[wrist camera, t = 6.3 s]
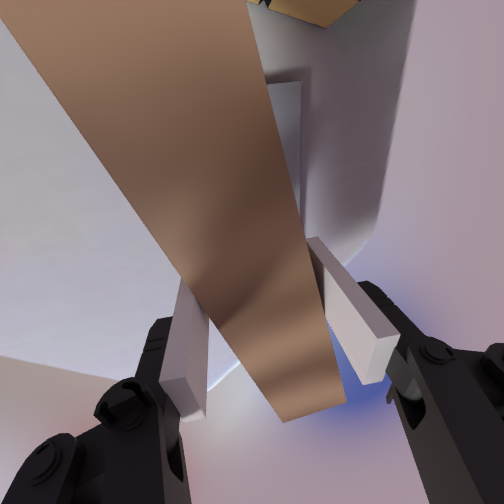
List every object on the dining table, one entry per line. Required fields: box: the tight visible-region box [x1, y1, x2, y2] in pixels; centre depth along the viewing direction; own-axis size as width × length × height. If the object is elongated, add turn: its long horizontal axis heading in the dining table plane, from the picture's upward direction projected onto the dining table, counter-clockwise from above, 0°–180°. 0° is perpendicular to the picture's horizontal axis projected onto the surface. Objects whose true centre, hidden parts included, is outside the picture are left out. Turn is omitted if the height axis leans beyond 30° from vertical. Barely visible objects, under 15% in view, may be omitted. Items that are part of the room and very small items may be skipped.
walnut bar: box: [0, 0, 347, 423], centre depth 12 cm, size 24×5×4 cm, turn 20°
